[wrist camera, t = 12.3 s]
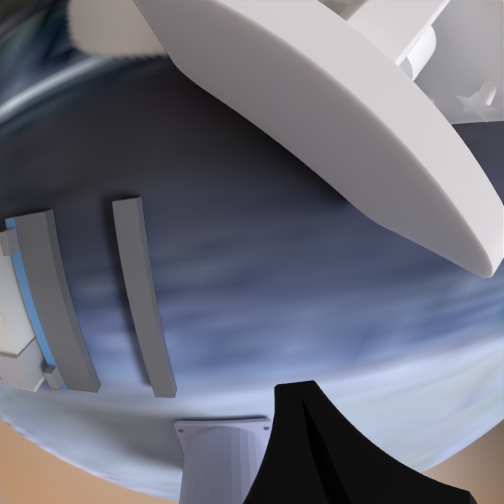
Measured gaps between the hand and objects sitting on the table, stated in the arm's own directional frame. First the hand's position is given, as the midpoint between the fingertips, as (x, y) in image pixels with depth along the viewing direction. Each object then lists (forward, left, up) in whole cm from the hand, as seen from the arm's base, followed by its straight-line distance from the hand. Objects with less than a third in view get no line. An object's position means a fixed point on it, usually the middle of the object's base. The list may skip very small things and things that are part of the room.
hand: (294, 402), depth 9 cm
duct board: (0, +16, -9) cm, 19 cm away
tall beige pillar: (0, +20, -10) cm, 22 cm away
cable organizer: (+13, -4, -10) cm, 17 cm away
